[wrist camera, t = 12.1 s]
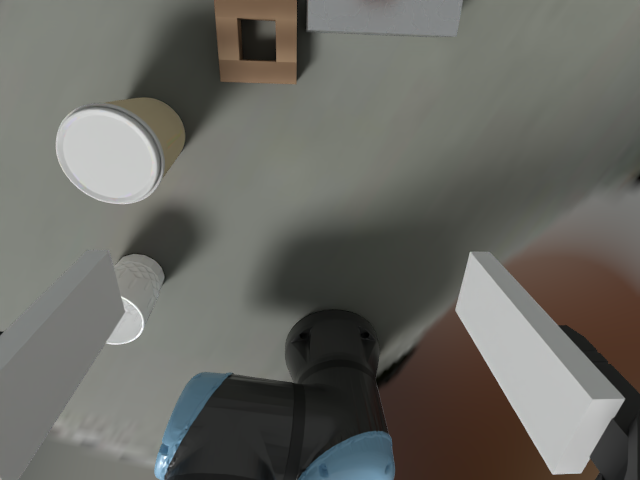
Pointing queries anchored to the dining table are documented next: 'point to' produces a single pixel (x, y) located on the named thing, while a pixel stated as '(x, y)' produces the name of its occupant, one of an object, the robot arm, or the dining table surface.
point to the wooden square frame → (230, 7)
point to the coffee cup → (119, 148)
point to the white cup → (136, 295)
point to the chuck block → (384, 17)
